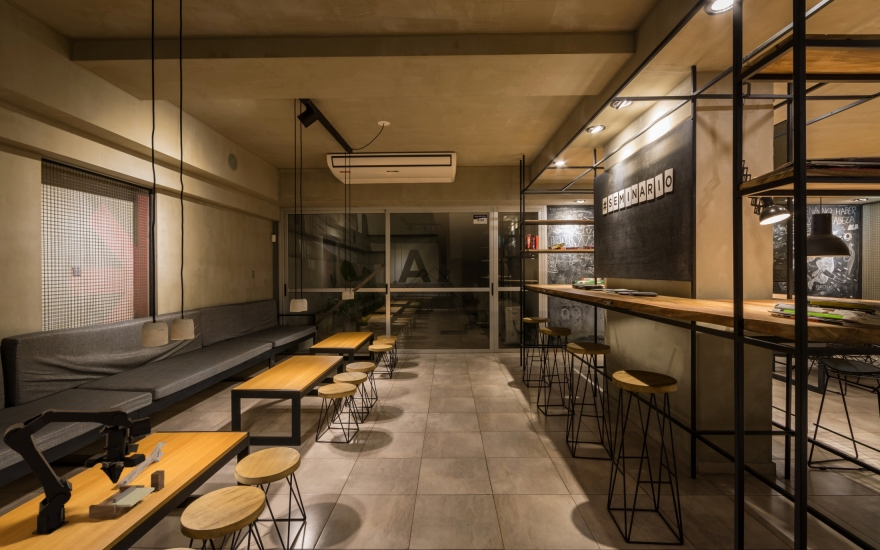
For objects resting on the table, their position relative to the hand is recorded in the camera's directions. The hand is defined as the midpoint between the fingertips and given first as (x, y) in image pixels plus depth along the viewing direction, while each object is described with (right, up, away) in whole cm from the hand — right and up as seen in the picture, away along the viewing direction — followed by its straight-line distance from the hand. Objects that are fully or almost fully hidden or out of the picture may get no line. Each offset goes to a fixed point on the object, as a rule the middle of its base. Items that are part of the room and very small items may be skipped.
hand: (115, 483), depth 141 cm
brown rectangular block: (+7, -9, +12) cm, 17 cm away
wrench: (-11, -10, +27) cm, 31 cm away
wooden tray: (+1, -9, 0) cm, 9 cm away
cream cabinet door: (+6, -6, 0) cm, 8 cm away
